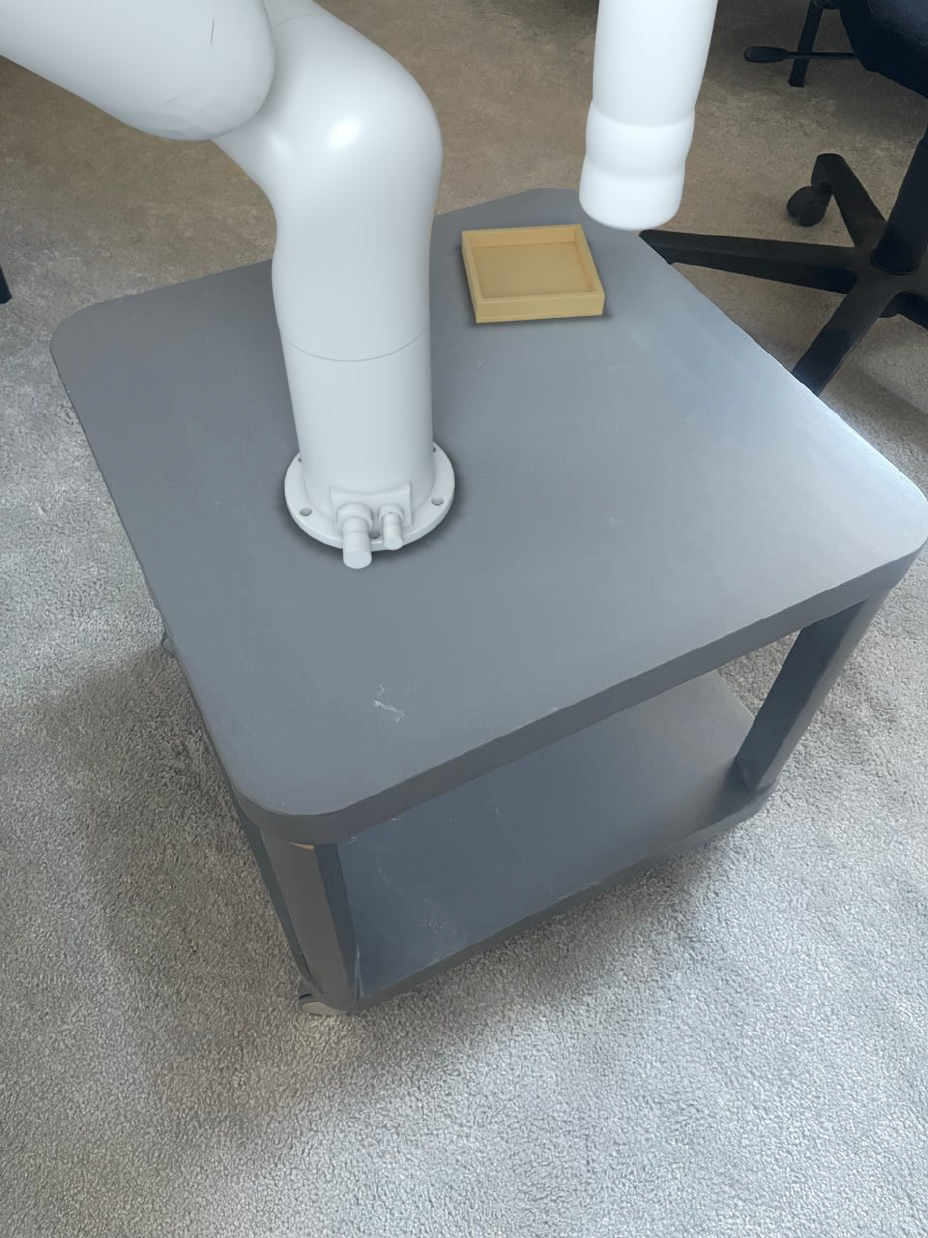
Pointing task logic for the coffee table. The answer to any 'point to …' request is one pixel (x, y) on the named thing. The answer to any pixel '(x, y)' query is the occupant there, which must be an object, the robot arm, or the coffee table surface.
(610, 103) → the water bottle
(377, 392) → the robot arm
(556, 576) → the coffee table surface
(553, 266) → the tray
